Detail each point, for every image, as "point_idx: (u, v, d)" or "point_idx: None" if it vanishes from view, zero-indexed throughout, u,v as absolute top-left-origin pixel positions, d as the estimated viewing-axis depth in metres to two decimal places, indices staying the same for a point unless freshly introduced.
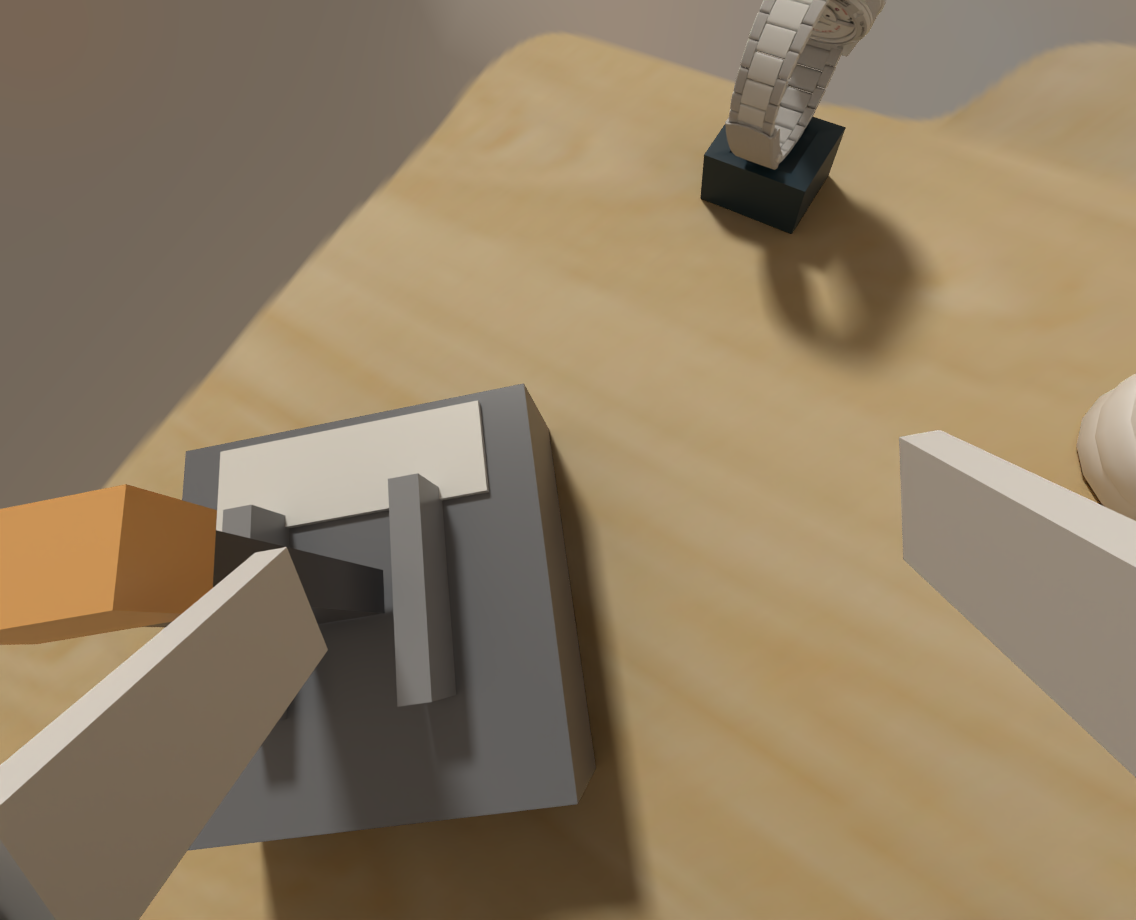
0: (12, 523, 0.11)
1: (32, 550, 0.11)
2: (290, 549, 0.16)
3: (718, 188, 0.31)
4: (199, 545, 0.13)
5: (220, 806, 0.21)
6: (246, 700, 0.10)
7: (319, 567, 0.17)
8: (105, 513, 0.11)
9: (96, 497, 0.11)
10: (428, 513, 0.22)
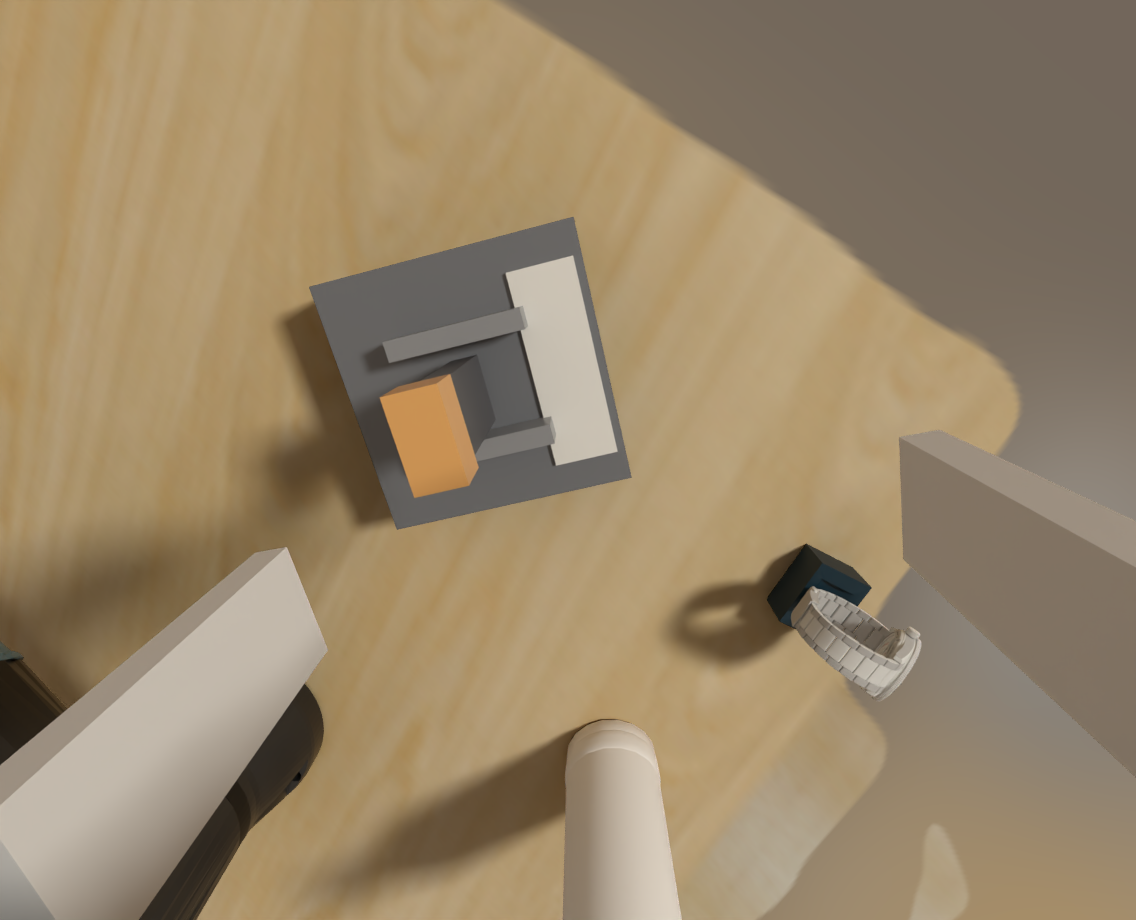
0: (442, 432, 0.23)
1: (432, 448, 0.23)
2: (479, 446, 0.29)
3: (804, 561, 0.43)
4: None
5: (345, 325, 0.34)
6: (246, 700, 0.10)
7: None
8: (454, 480, 0.24)
9: (461, 472, 0.24)
10: None
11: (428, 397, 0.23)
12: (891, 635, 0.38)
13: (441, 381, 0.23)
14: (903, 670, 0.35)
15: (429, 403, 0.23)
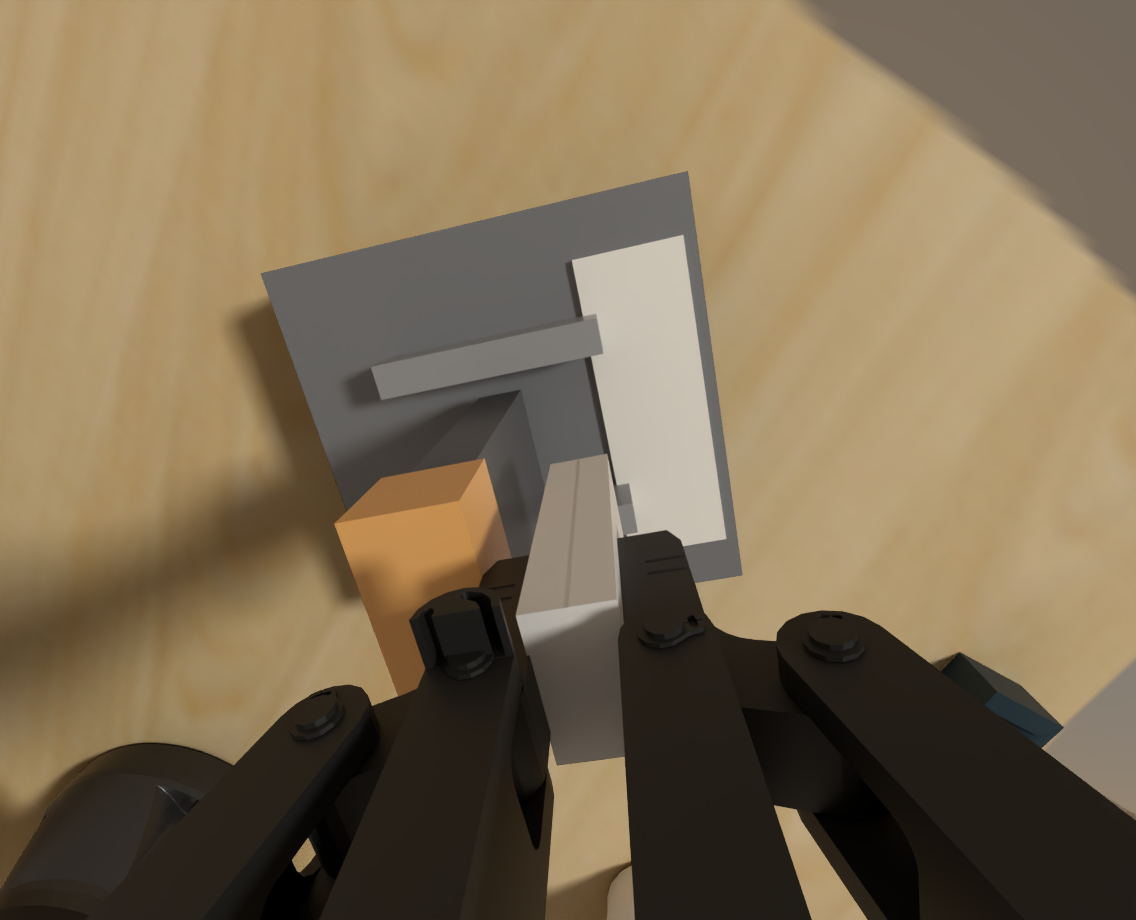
0: None
1: None
2: None
3: (961, 680, 0.31)
4: None
5: (316, 334, 0.22)
6: None
7: None
8: None
9: None
10: None
11: (439, 528, 0.10)
12: None
13: (468, 488, 0.11)
14: None
15: (441, 540, 0.10)
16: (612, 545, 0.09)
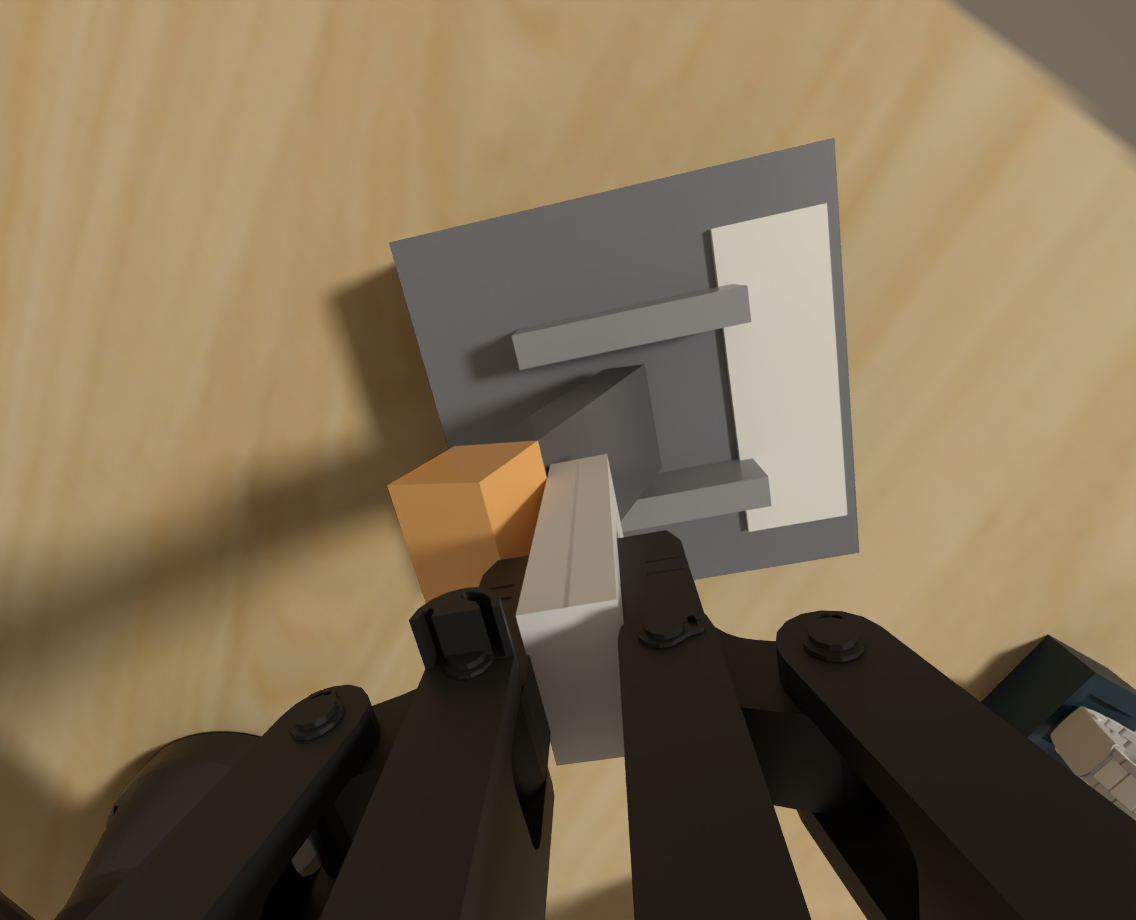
0: None
1: None
2: None
3: (1052, 662, 0.31)
4: None
5: (442, 306, 0.22)
6: None
7: None
8: None
9: None
10: None
11: (464, 504, 0.11)
12: None
13: (499, 470, 0.12)
14: None
15: (466, 515, 0.11)
16: (612, 545, 0.09)
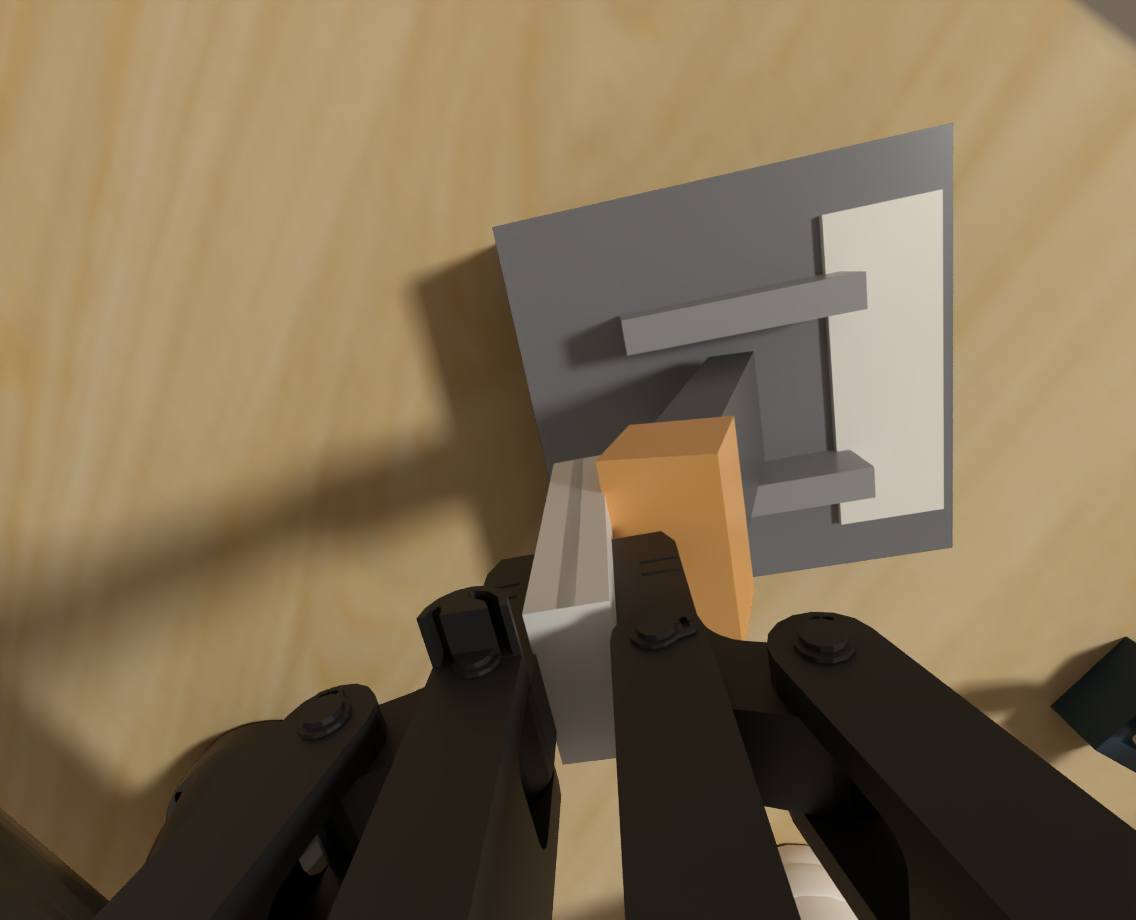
0: (710, 548, 0.11)
1: None
2: (747, 524, 0.17)
3: (1131, 664, 0.30)
4: None
5: (541, 291, 0.22)
6: None
7: None
8: None
9: (732, 628, 0.12)
10: None
11: (693, 477, 0.11)
12: None
13: (723, 442, 0.11)
14: None
15: (693, 489, 0.11)
16: (606, 546, 0.09)
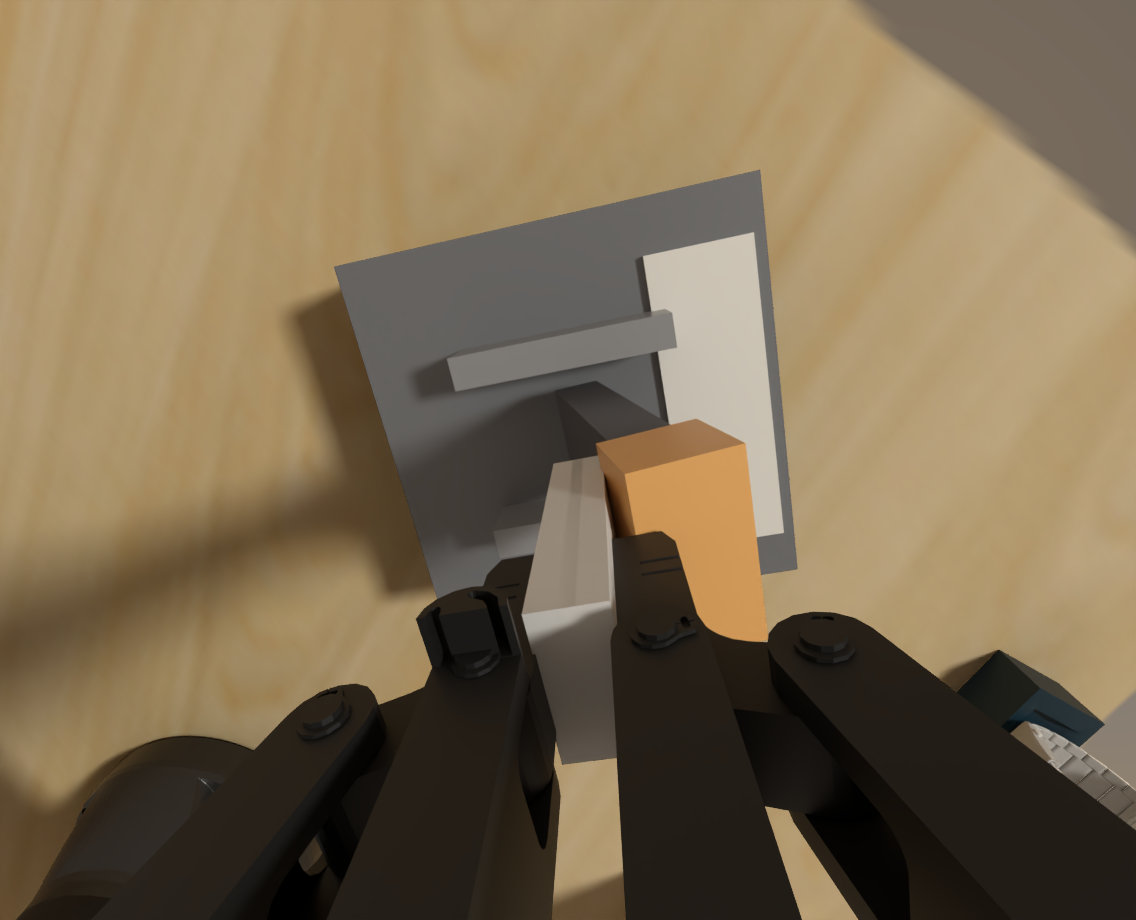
0: (738, 540, 0.11)
1: (713, 572, 0.11)
2: None
3: (1001, 677, 0.31)
4: None
5: (386, 327, 0.22)
6: None
7: None
8: (743, 630, 0.12)
9: (758, 615, 0.12)
10: None
11: (723, 471, 0.11)
12: None
13: (728, 436, 0.12)
14: None
15: (723, 484, 0.11)
16: (606, 546, 0.09)
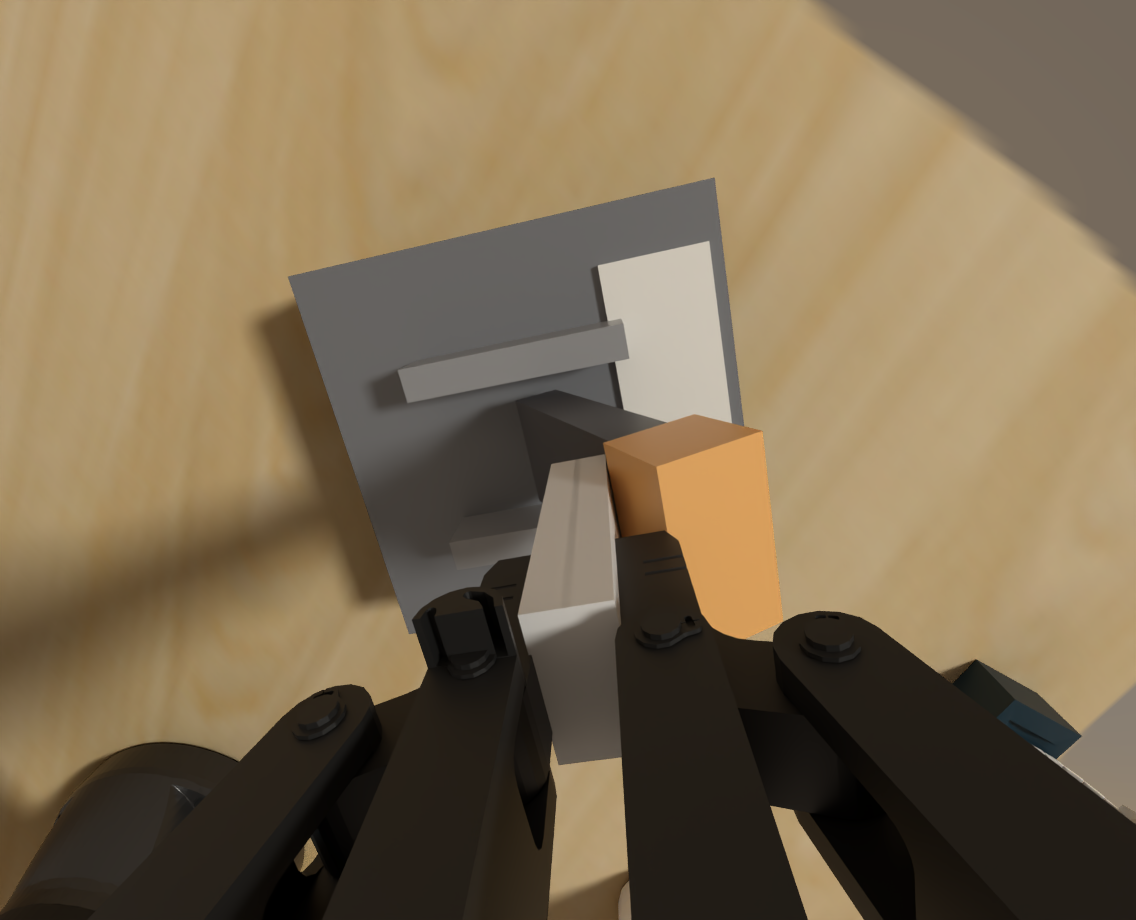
0: (757, 526, 0.12)
1: (735, 559, 0.12)
2: None
3: (977, 687, 0.31)
4: None
5: (342, 337, 0.22)
6: None
7: None
8: (762, 615, 0.12)
9: (775, 598, 0.12)
10: None
11: (743, 459, 0.11)
12: None
13: None
14: None
15: (743, 471, 0.11)
16: (610, 546, 0.09)
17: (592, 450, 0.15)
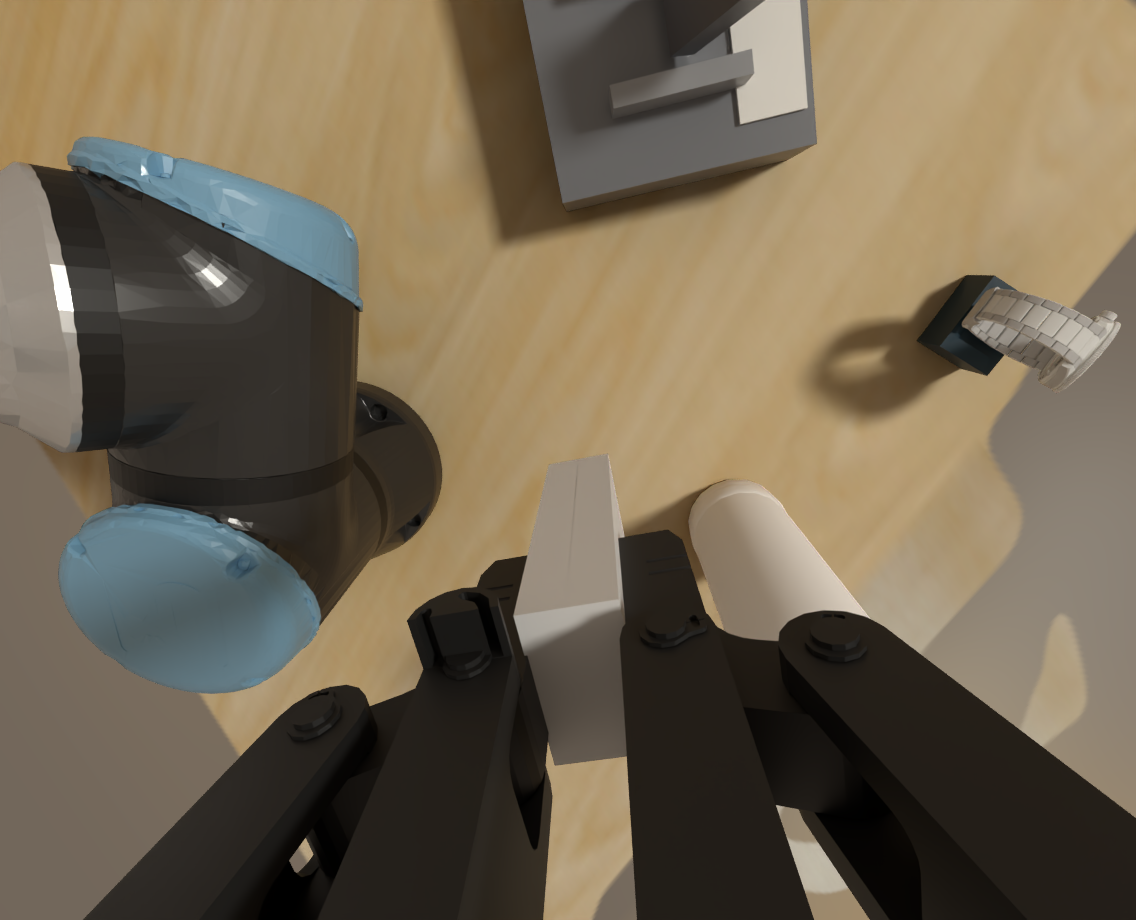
0: None
1: None
2: (758, 4, 0.28)
3: (967, 288, 0.41)
4: None
5: None
6: None
7: (734, 19, 0.29)
8: None
9: None
10: (726, 83, 0.33)
11: None
12: None
13: None
14: (1105, 340, 0.33)
15: None
16: (614, 545, 0.09)
17: None
